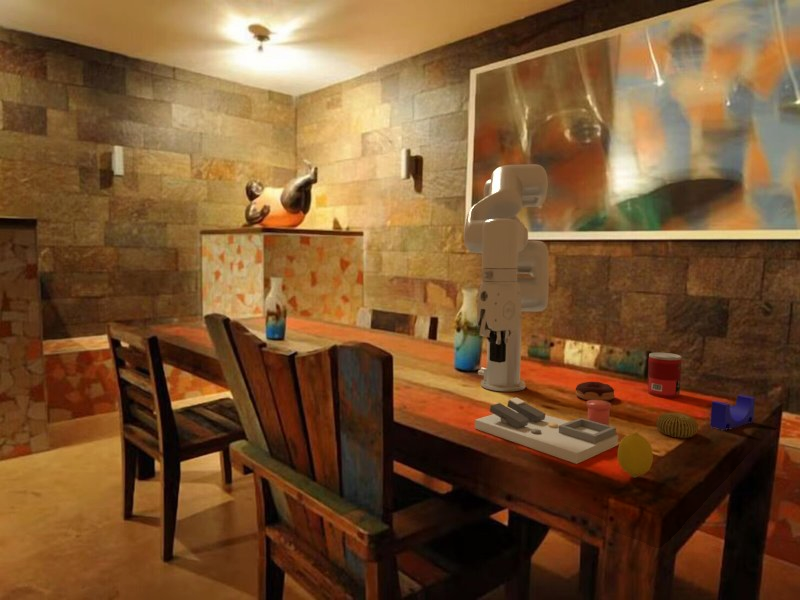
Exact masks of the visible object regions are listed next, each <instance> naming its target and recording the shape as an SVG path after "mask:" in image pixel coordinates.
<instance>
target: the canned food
mask: <svg viewBox="0 0 800 600" xmlns="http://www.w3.org/2000/svg"><path fill="white" fill-rule="evenodd" d="M682 360H683V359H682V356H681V355H679V354H676V353H670V352H651V353H649V354H648V363H647V364H648V365H647V366H648V367H647V368H648V370H647V388H646V389H647V394H649V395H651V396H653V397H658V398H664V399H674V398H679V395H680V393H681V380H682V379H681V378H682V377H681V376H682V363H683V362H682Z"/></svg>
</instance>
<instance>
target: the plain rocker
mask: <svg viewBox="0 0 800 600" xmlns="http://www.w3.org/2000/svg"><path fill="white" fill-rule="evenodd" d="M489 407H490V408H489V412H490V413H492V414H495V415H497V416H499V417H500V419H501V422H502V423H503V424H506V423H511V424H512V425H514V426H516V427H517V428H521V427H524V426H526V425H528V421H529V419H528V418H526V417H524V416H522V415H520V414H519V413H517V412H515V411H513V410H511V408H509V407H508V406H507V405H506V406H505V405H504V404H502V403H500V402H499V403H495V404H492V405H490V406H489Z"/></svg>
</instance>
